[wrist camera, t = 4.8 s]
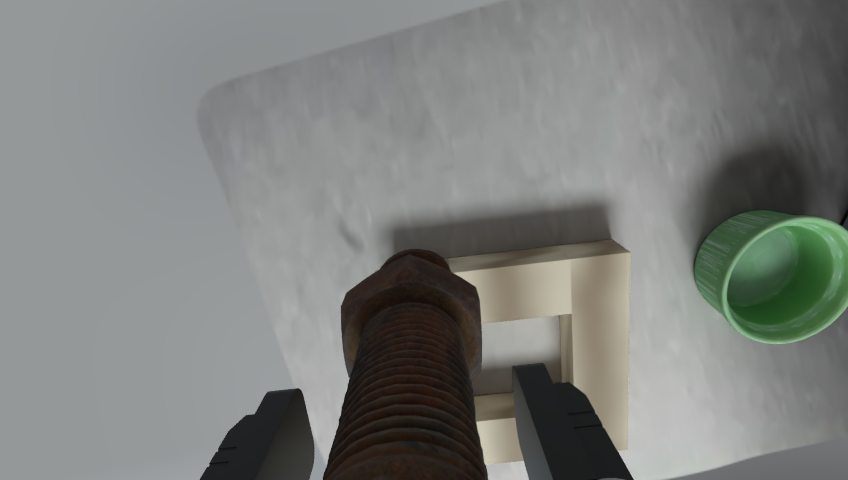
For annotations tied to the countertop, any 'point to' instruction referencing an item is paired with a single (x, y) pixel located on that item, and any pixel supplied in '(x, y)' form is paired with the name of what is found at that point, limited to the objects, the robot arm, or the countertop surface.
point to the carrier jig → (579, 328)
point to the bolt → (410, 375)
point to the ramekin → (775, 274)
